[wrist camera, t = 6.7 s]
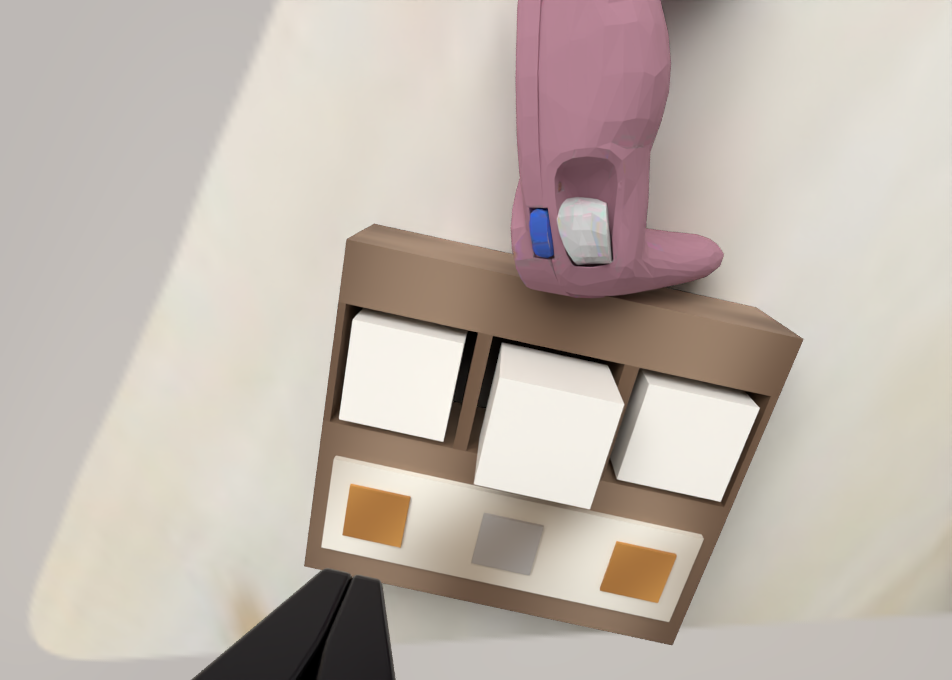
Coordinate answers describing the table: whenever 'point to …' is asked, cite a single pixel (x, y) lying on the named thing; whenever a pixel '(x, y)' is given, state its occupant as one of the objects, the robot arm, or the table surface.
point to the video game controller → (594, 151)
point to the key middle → (547, 426)
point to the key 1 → (401, 373)
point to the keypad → (514, 515)
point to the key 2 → (682, 434)
